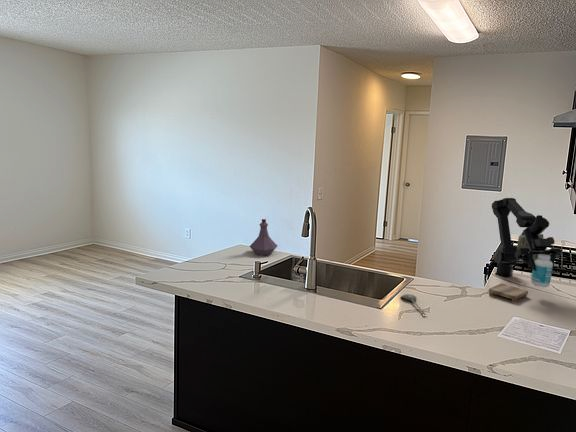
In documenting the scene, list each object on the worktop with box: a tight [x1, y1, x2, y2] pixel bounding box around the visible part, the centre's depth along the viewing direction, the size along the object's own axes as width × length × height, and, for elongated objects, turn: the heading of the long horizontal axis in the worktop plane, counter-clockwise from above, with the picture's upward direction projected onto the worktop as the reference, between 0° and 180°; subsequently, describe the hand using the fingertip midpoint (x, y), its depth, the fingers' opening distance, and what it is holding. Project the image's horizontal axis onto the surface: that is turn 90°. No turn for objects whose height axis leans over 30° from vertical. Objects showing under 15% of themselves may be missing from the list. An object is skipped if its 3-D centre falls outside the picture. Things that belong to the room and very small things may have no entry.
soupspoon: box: [400, 293, 426, 315], centre depth 190 cm, size 22×3×7 cm
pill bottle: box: [530, 254, 553, 288], centre depth 199 cm, size 8×7×14 cm
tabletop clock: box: [516, 233, 544, 268], centre depth 247 cm, size 14×9×25 cm, turn 137°
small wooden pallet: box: [488, 282, 529, 304], centre depth 203 cm, size 12×12×3 cm
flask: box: [249, 218, 278, 256], centre depth 260 cm, size 16×16×20 cm
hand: (544, 270), depth 197 cm, fingers closed on pill bottle, 7 cm apart
